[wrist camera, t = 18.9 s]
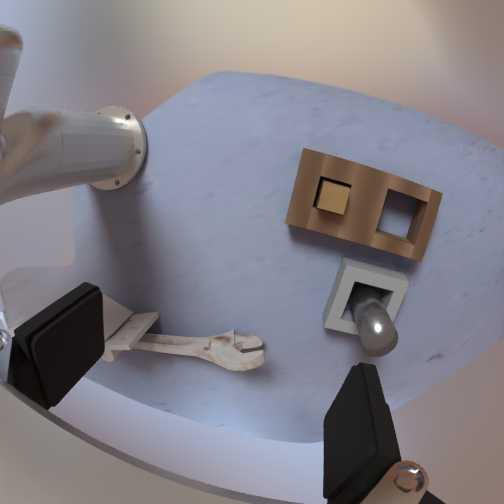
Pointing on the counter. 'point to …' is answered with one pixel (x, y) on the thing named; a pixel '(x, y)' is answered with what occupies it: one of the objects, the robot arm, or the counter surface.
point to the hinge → (122, 327)
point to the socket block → (361, 205)
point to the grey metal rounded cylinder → (372, 320)
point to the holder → (366, 274)
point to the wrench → (209, 348)
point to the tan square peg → (332, 196)
